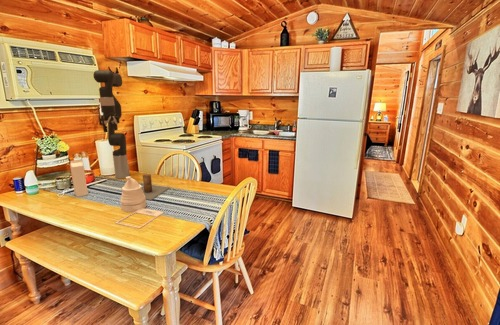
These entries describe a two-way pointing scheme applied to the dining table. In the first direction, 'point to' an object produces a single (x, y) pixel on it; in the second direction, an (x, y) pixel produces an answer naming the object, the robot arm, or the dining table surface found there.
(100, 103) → the robot arm
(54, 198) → the dining table surface
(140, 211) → the photo frame
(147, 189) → the walnut peg
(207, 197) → the dining table surface
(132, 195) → the honey pot
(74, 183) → the milk
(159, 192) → the slate mat
